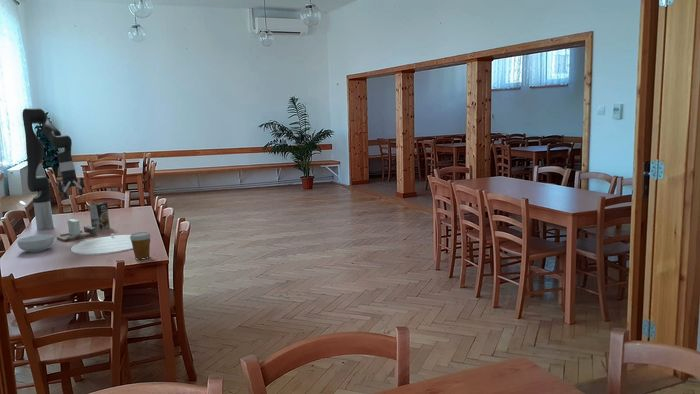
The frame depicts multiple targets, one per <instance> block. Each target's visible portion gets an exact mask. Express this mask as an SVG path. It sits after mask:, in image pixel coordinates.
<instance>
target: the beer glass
mask: <svg viewBox="0 0 700 394" xmlns="http://www.w3.org/2000/svg"><path fill="white" fill-rule="evenodd" d="M129 235H130V240H131V242H132V246H133V249H132V250H133V253H134V258H135V259H136V258H137V259H142V258H147V257H149V258H150V249H151V248H150V243H151V234H150V232H148V231H141V232H135V233H131V234H129Z"/></svg>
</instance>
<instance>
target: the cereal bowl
mask: <svg viewBox="0 0 700 394" xmlns="http://www.w3.org/2000/svg"><path fill="white" fill-rule="evenodd" d="M16 242H17V246H18V248H19V249H20V250H22V251H24V252H28V253H31V254H32V253H39V252H41V253H42V252H45V251H46V250H47V249H49V248H50V247H51V246H53V244H54V242H55V236H54V235H53V234H35V235H31V236H25V237H21V238H19V239H17V241H16Z"/></svg>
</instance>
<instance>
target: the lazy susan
mask: <svg viewBox="0 0 700 394" xmlns="http://www.w3.org/2000/svg"><path fill="white" fill-rule="evenodd" d="M130 235H131V234H122V235H121V234H120V235H119V234H117V235H115V233H112V232H111V233H110V236H103V237H97V238H92V239H89V240H81V241H79V242H78V243H76V244H74V245H73V246H72V247H71V248H70V252H71V253H72V254H75V255H80V256H101V255H109V254H117V252H118V253H122V252H121V251H124V252H126V251H125V250H128V251H131V250H130V249H132V250H133V246H132V242H131V240H130Z"/></svg>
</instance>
